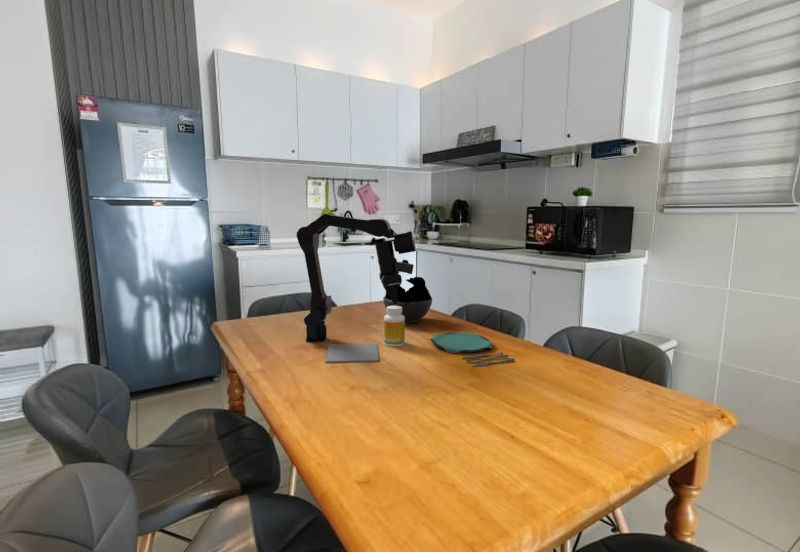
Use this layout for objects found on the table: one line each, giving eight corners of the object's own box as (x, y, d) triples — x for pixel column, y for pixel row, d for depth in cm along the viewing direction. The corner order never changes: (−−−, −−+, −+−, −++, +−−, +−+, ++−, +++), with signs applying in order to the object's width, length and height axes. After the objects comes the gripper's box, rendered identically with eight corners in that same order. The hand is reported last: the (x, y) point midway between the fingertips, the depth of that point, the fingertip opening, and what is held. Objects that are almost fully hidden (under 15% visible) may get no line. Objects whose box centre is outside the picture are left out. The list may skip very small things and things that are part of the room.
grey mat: (325, 362, 126) (325, 361, 126) (328, 345, 142) (328, 344, 142) (379, 361, 128) (379, 359, 128) (376, 344, 143) (376, 343, 143)
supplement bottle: (404, 347, 141) (404, 309, 140) (383, 346, 142) (383, 309, 140) (404, 340, 149) (405, 304, 147) (384, 340, 149) (384, 304, 147)
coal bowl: (437, 326, 167) (439, 279, 164) (387, 329, 163) (388, 281, 160) (424, 314, 186) (425, 272, 183) (379, 316, 182) (379, 273, 179)
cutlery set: (472, 335, 157) (472, 329, 156) (521, 363, 129) (521, 356, 129) (422, 340, 150) (422, 334, 150) (463, 372, 122) (463, 364, 122)
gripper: (413, 253, 133) (421, 301, 135) (406, 250, 152) (413, 292, 154) (378, 260, 132) (387, 308, 134) (375, 256, 151) (383, 298, 153)
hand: (394, 301), depth 144 cm, fingers open, 9 cm apart
